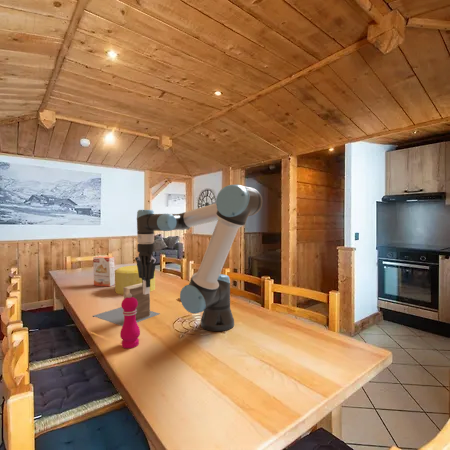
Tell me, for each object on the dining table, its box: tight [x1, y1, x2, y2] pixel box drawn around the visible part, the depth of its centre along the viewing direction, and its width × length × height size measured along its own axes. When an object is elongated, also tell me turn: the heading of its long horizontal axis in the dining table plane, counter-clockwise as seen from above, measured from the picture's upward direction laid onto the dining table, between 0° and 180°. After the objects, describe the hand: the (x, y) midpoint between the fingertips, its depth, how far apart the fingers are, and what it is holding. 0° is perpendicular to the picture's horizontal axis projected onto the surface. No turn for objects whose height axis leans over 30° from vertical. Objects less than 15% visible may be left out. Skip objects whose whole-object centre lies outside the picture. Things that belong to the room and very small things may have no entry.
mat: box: [92, 306, 161, 327], centre depth 144 cm, size 26×21×1 cm
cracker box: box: [92, 255, 116, 288], centre depth 208 cm, size 14×6×21 cm, turn 73°
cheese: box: [114, 264, 156, 296], centre depth 196 cm, size 26×26×15 cm
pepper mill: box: [119, 293, 141, 349], centre depth 110 cm, size 7×7×20 cm
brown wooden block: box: [123, 283, 151, 321], centre depth 138 cm, size 4×12×16 cm, turn 145°
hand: (146, 293), depth 134 cm, fingers closed
